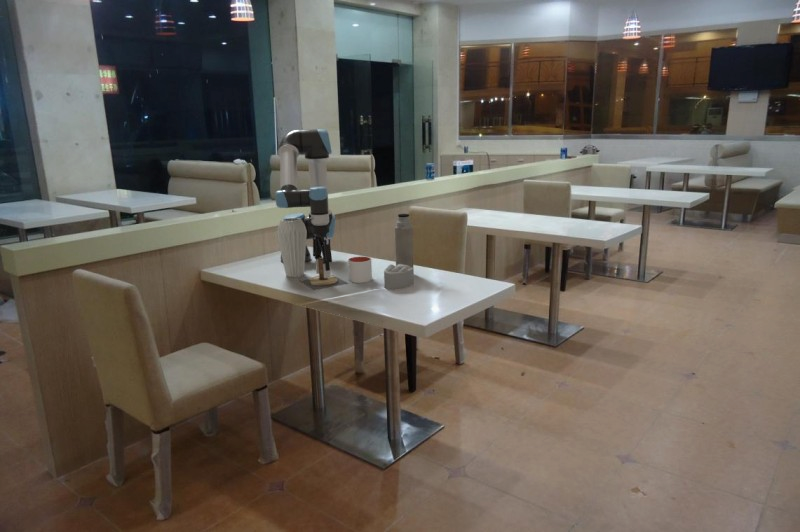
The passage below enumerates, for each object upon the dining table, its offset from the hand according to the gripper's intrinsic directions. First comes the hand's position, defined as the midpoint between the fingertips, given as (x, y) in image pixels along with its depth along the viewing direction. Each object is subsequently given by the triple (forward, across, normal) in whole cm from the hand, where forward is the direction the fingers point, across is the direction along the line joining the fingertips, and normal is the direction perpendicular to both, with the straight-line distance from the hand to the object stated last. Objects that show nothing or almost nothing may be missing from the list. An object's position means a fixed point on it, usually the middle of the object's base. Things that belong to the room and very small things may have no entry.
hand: (323, 275), depth 245 cm
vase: (+4, -19, -6) cm, 20 cm away
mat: (+4, 0, 0) cm, 4 cm away
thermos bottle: (+4, +9, +36) cm, 37 cm away
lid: (+3, 0, 0) cm, 3 cm away
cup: (+4, +6, +15) cm, 17 cm away
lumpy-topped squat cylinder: (+4, +21, +25) cm, 33 cm away
